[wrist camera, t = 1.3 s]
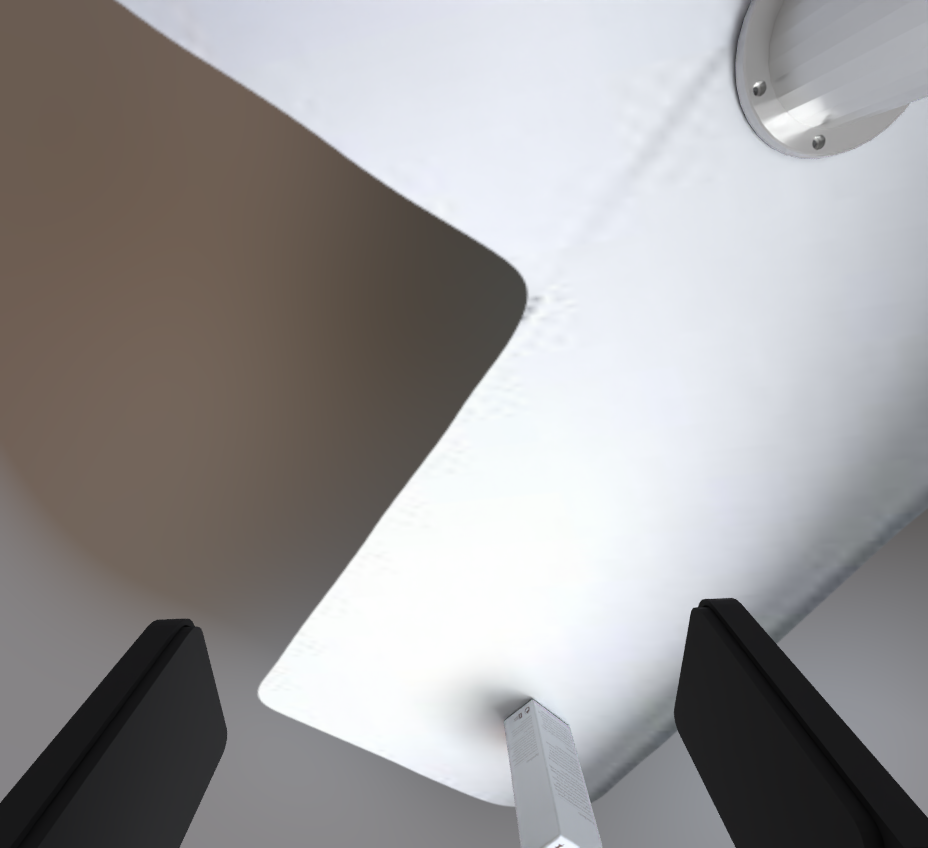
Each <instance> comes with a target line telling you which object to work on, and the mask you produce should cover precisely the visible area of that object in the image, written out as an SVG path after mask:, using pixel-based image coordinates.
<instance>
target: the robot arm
mask: <svg viewBox="0 0 928 848" xmlns="http://www.w3.org/2000/svg"><path fill="white" fill-rule="evenodd" d="M735 65H736V86H737V90H738V95H739V99H740V104H741V106H742V109H743V111H744V113H745V116H746V118H747V120H748V122H749V124H750V125H751V127H752V128H753V129H754V131H755V132H756V134H757V135H758V136H759V137H760V138H761V139H762V140H763V141H764V142H766V143H767V144H768V145H769V146H770V147H772V148H773V149H775V150H777V151H779V152H781V153H783V154H785V155H789V156H793V157H797V158H801V159H819V158H824V157H829V156H834V155H838V154H841V153H844V152H847V151H850V150H853V149H855V148H857V147H859V146H861V145H863V144H865V143H867V142H869V141H871V140H872V139H874V138H875V137H876V136H878V135H879V134H880V133H882V132H883V131H884V130H886V129H887V128H888V127H889V126H890V125H891V124H892V123H893V122H894V121H895V120H896V119H897V118H898V117H899V116H900V115H901V114H902V113H903V112H904V111H905V110H906V108H907V107H908V106H909V104H910V103H911V102H914V101H917V100H920V99H922V98H925V97H928V0H752V1H751V4H750V6H749V8H748V11H747V13H746V15H745V18H744V21H743V24H742V28H741V32H740V36H739V39H738V45H737V54H736V63H735ZM753 91H754V93H753ZM674 718H675V723H676V726H677V729H678V732H679V734H680V736H681V738H682V740H683V742H684V744H685V746H686V748H687V750H688V752H689V754H690V756H691V758H692V760H693V762H694V764H695V766H696V768H697V770H698V772H699V774H700V776H701V778H702V780H703V782H704V784H705V786H706V789H707V791H708V793H709V795H710V797H711V799H712V801H713V802H714V805H715V806H716V808H717V811H718V813H719V815H720V817H721V819H722V821H723V823H724V825H725V827H726V829H727V831H728V833H729V835H730V837H731V839H732V841H733V843H734V845H735V847H736V848H928V818H927V816H926V815H925V814H924V813H923V812H922V811H921V810H920V808H919V807H918V806H917V805H916V804H915V803H914V802H913V800H912V799H911V798H910V797H909V796H908V795H907V793H906V792H905V791H904V790H903V789H902V788H901V787H900V785H899V784H898V783H897V782H896V781H895V780H894V779H893V777H892V776H891V775H890V774H889V773H888V772H887V771H886V769H885V768H884V767H883V766H882V765H881V764H880V763H879V761H878V760H877V759H876V758H875V757H874V756H873V754H872V753H871V752H870V751H869V750H868V749H867V748H866V746H865V745H864V744H863V743H862V742H861V741H860V740H859V738H858V737H857V736H856V735H855V734H854V733H853V732H852V730H851V729H850V728H849V727H848V726H847V725H846V723H845V722H844V721H843V720H842V719H841V718H840V717H839V715H837V713H836V712H835V711H834V710H833V709H832V707H831V706H830V705H829V704H828V703H827V702H826V701H825V699H824V698H823V697H822V696H821V695H820V694H819V692H818V691H817V690H816V689H815V688H814V687H813V686H812V684H811V683H810V682H809V681H808V680H807V679H806V678H805V676H804V675H803V674H802V673H801V672H800V671H799V670H798V668H797V667H796V666H795V665H794V664H793V663H792V662H791V661H790V659H789V658H788V657H787V656H786V655H785V653H784V652H783V651H782V650H781V649H780V648H779V647H778V646H777V644H776V643H775V642H774V641H773V640H772V639H771V637H770V636H769V635H768V634H767V633H766V632H765V631H764V629H763V628H762V627H761V626H760V625H759V624H758V623H757V621H756V620H755V619H754V618H753V617H752V616H751V614H750V613H749V612H748V611H747V610H746V609H745V608H744V606H743V605H742V604H741V603H740V602H739V601H738V600H736V599H733V598H722V599H704V600H702V601H701V602H700V603H699V606H698V607H697V608H693V609H692V611H691V615H690V621H689V627H688V632H687V638H686V644H685V650H684V656H683V661H682V667H681V673H680V679H679V685H678V690H677V696H676V702H675V708H674ZM226 741H227V728H226V724H225V720H224V716H223V712H222V708H221V704H220V700H219V696H218V692H217V688H216V684H215V680H214V676H213V672H212V668H211V664H210V660H209V656H208V652H207V648H206V644H205V640H204V636H203V632H202V630H201V628H200V627H195V626H194V624H193V622H192V621H191V620H190V619H167V620H156V621H153V622H152V623H151V624H150V625H149V626H148V627H147V628H146V629H145V630H144V632H143V633H142V634H141V635H140V636H139V638H138V639H137V640H136V641H135V642H134V644H133V645H132V646H131V647H130V648H129V650H128V651H127V652H126V653H125V654H124V656H123V657H122V658H121V659H120V660H119V662H118V663H117V664H116V665H115V666H114V667H113V669H112V670H111V671H110V672H109V673H108V675H107V676H106V677H105V678H104V679H103V681H102V682H101V683H100V684H99V685H98V687H97V688H96V689H95V690H94V691H93V693H92V694H91V695H90V696H89V698H88V699H87V700H86V701H85V703H83V705H82V706H81V707H80V708H79V709H78V711H77V712H76V713H75V714H74V715H73V717H72V718H71V719H70V720H69V721H68V723H67V724H66V725H65V726H64V727H63V729H62V730H61V731H60V732H59V734H58V735H57V736H56V737H55V738H54V739H53V741H52V742H51V743H50V744H49V745H48V747H47V748H46V749H45V750H44V751H43V752H42V754H41V755H40V756H39V757H38V758H37V760H36V761H35V762H34V763H33V764H32V766H31V767H30V768H29V769H28V770H27V772H26V773H25V774H24V775H23V776H22V778H21V779H20V780H19V781H18V782H17V784H16V785H15V786H14V787H13V788H12V790H11V791H10V792H9V793H8V794H7V796H6V797H5V798H4V799H3V800H2V802H1V803H0V848H179V847H180V845H181V843H182V841H183V839H184V837H185V834H186V832H187V830H188V828H189V826H190V823H191V821H192V819H193V817H194V815H195V813H196V811H197V809H198V806H199V804H200V802H201V800H202V798H203V795H204V793H205V791H206V789H207V787H208V785H209V782H210V780H211V778H212V776H213V774H214V771H215V770H216V767H217V765H218V763H219V761H220V759H221V757H222V754H223V752H224V749H225V745H226Z"/></svg>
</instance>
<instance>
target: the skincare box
mask: <svg viewBox="0 0 928 848" xmlns="http://www.w3.org/2000/svg"><path fill="white" fill-rule="evenodd" d="M504 726H505V733H506V740H507V747H508V755H509V762H510V770H511V777H512V785H513V792H514V799H515V806H516V813H517V821H518V828H519V836H520V843H521V848H603V847H602V843H601V839H600V836H599V832H598V828H597V825H596V821H595V817H594V814H593V810H592V806H591V803H590V799H589V795H588V791H587V788H586V784H585V781H584V777H583V773H582V770H581V766H580V762H579V759H578V755H577V751H576V748H575V744H574V740H573V736H572V733H571V729H570V727H569V726H568V725H566V724H565V723H564V722H562V721H561V720H560V719H558V718H557V717H556V716H554V715H553V714H552V713H550V712H549V711H548V710H546V709H545V708H544V707H542V706H541V705H540V704H538V703H537V702H536V701H534V700H531V701H529V702H528V703H527V704H525V705H524V706H523V707H522V708H520V709H519V710H518V711H517V712H515V713H514V714H513V715H511V716H510V717H508V718H507V719H506V720H505V721H504Z"/></svg>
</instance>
